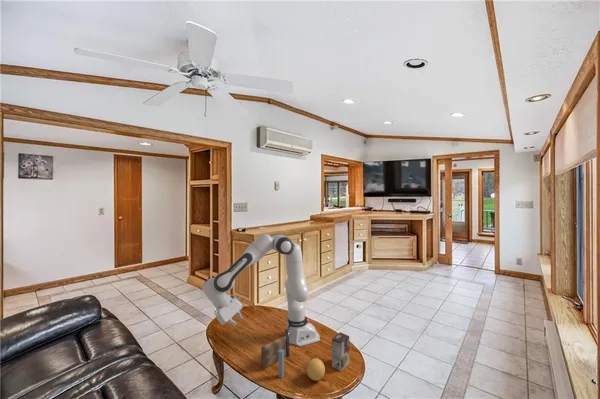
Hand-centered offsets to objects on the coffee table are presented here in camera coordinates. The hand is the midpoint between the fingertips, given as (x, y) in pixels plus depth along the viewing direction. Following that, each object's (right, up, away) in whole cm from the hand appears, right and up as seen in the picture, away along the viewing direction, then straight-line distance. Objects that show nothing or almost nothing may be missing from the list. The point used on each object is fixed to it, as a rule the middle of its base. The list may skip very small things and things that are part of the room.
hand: (238, 322), depth 156 cm
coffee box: (+58, -24, -1) cm, 63 cm away
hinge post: (+27, -23, +7) cm, 37 cm away
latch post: (+25, -24, -11) cm, 36 cm away
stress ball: (+43, -24, -12) cm, 51 cm away
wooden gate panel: (+20, -22, 0) cm, 30 cm away
